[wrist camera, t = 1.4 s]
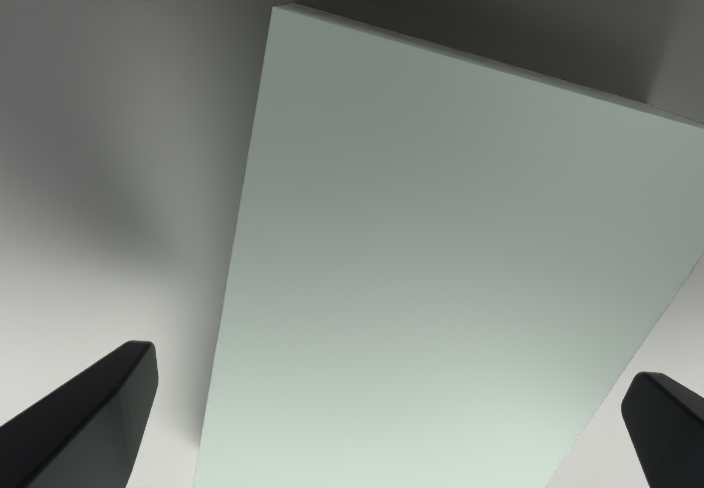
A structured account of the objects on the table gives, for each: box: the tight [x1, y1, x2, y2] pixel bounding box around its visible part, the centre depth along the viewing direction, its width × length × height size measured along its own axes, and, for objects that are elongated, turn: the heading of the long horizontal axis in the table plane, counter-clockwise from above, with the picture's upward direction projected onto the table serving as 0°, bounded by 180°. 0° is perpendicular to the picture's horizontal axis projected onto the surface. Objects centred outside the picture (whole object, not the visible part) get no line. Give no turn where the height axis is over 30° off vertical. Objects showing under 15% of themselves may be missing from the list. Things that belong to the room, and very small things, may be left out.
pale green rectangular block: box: [193, 2, 704, 488], centre depth 10 cm, size 6×11×3 cm, turn 165°
